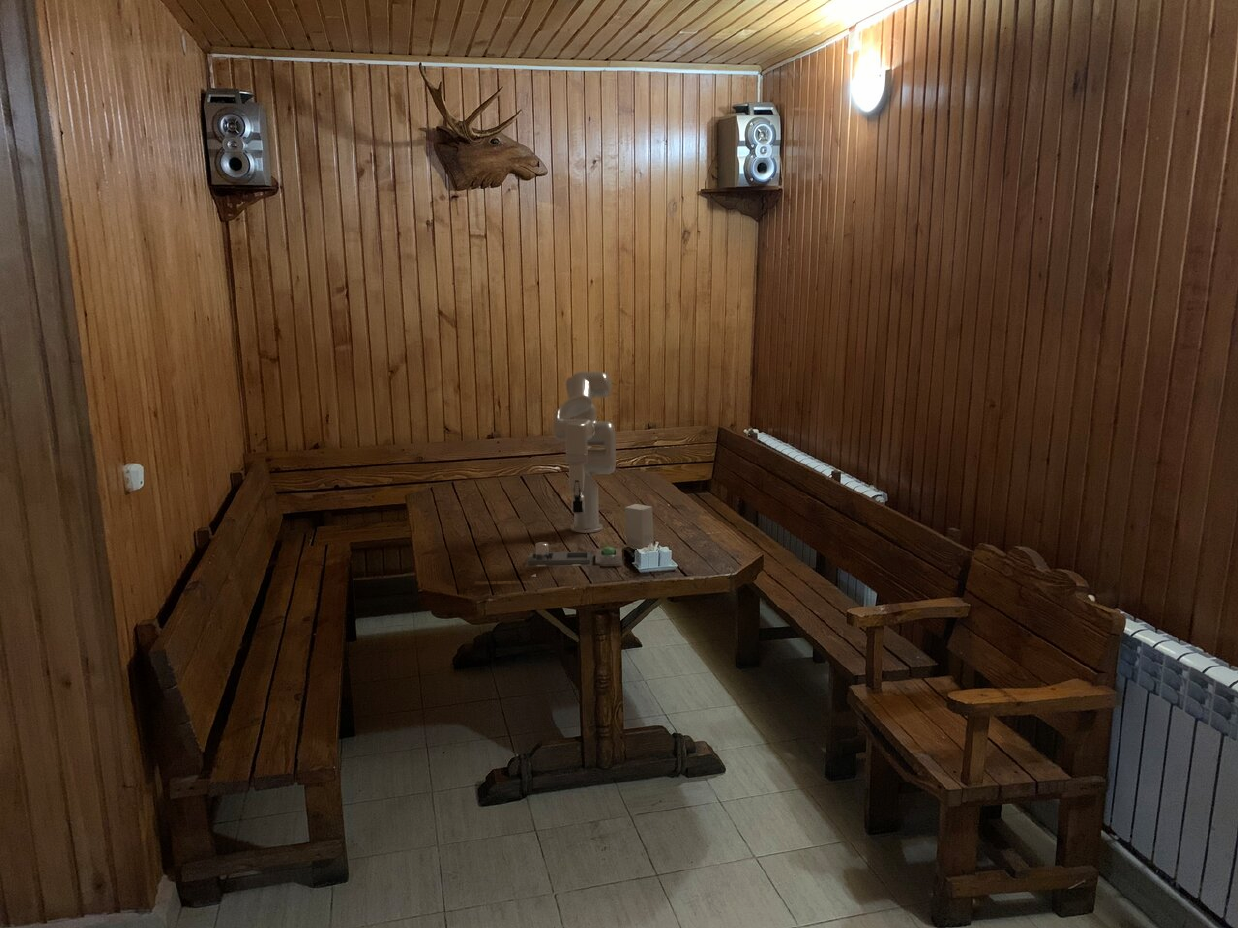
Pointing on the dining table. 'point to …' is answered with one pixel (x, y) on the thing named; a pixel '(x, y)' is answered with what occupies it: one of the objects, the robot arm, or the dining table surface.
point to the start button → (608, 551)
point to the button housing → (609, 558)
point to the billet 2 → (582, 504)
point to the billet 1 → (542, 550)
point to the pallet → (561, 559)
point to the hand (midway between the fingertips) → (578, 509)
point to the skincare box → (638, 525)
